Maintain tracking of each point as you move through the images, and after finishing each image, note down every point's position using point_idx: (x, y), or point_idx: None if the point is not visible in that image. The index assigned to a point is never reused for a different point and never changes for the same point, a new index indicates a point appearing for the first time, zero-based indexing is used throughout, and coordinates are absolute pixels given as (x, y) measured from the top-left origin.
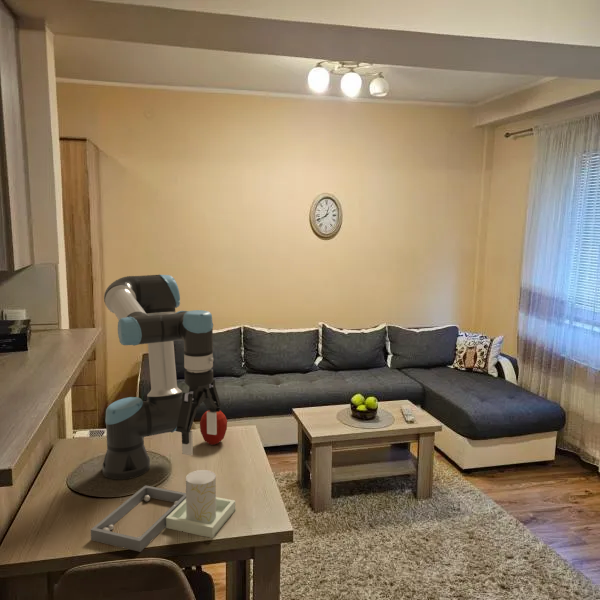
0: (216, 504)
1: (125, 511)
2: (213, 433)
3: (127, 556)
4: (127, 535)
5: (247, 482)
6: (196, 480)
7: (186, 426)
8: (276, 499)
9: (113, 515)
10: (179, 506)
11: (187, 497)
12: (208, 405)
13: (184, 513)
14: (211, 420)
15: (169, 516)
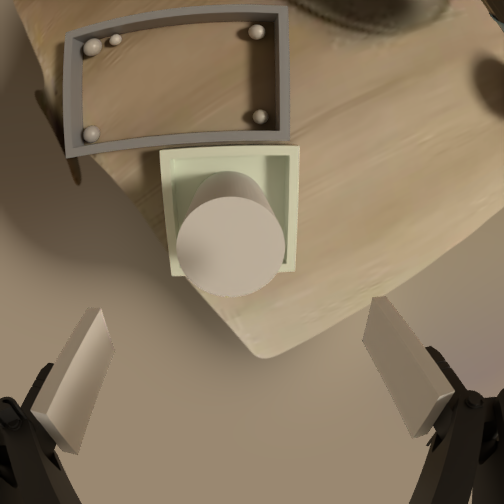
0: (285, 220)
1: (181, 21)
2: (366, 336)
3: (59, 141)
4: (70, 117)
5: (405, 233)
6: (201, 250)
7: (11, 478)
8: (350, 314)
9: (130, 24)
10: (220, 151)
11: (190, 205)
12: (429, 479)
13: (229, 158)
14: (400, 380)
15: (167, 155)
